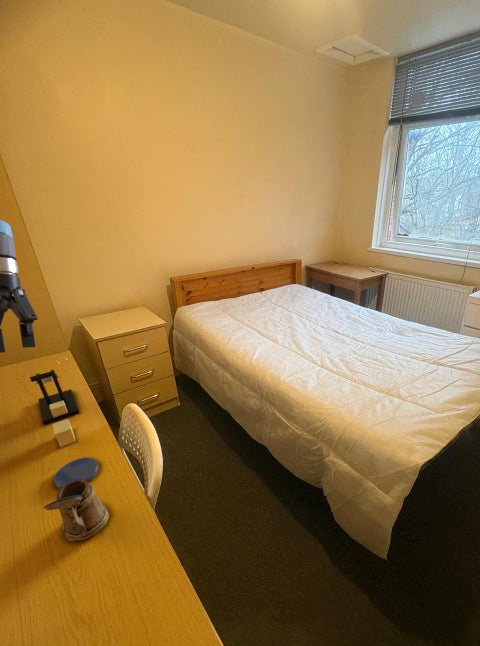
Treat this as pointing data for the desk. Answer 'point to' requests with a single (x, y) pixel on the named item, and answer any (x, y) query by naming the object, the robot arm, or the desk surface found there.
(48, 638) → the desk surface
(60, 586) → the desk surface
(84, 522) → the wooden mug
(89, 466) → the saucer
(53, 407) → the cream block
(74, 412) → the slicer
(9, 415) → the desk surface
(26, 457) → the desk surface
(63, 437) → the butter block
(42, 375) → the slicer blade
